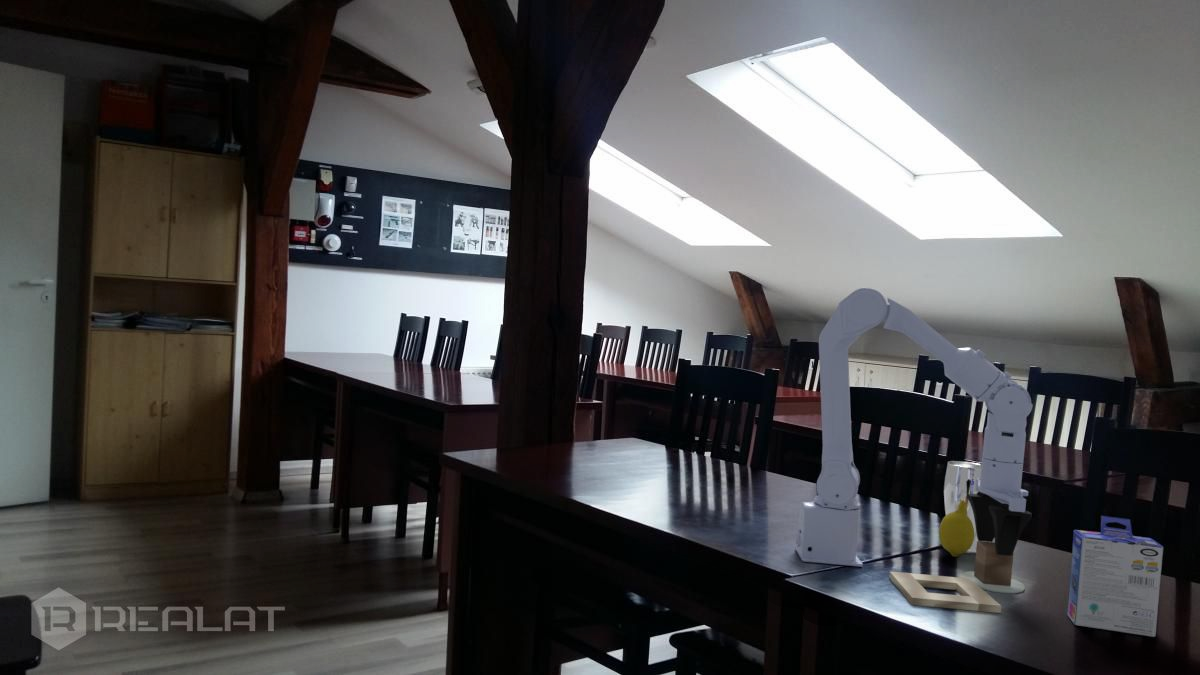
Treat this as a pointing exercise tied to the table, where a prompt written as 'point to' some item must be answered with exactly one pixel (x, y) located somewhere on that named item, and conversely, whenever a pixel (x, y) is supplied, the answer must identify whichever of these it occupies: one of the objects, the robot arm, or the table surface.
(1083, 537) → the ink cartridge box
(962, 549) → the lemon
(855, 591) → the table surface
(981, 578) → the walnut block
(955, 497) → the beer glass
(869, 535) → the table surface
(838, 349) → the robot arm
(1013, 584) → the disc
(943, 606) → the pocket block
